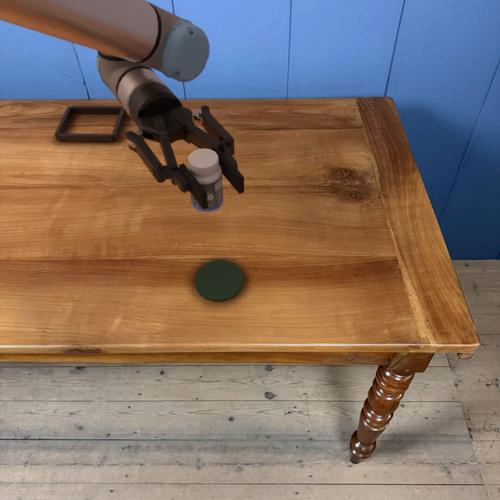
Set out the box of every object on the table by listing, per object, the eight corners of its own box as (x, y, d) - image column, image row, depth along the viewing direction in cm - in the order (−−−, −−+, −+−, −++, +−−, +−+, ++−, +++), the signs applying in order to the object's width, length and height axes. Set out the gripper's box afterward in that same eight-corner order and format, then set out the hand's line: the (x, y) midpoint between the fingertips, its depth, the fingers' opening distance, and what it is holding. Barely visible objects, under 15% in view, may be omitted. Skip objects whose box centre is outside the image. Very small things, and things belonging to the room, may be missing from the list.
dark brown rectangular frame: (56, 141, 94) (53, 135, 93) (70, 111, 101) (68, 105, 100) (117, 142, 94) (115, 136, 93) (127, 112, 101) (125, 105, 99)
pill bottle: (186, 209, 66) (178, 164, 59) (199, 188, 69) (194, 142, 62) (216, 218, 65) (212, 173, 58) (229, 195, 68) (226, 150, 61)
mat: (185, 283, 72) (184, 281, 71) (217, 254, 75) (217, 252, 75) (221, 310, 69) (220, 308, 68) (253, 278, 72) (253, 276, 72)
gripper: (203, 107, 77) (279, 189, 65) (102, 142, 72) (164, 239, 59) (199, 65, 71) (282, 146, 59) (88, 100, 66) (155, 198, 53)
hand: (223, 193), depth 59 cm, fingers closed on pill bottle, 5 cm apart
